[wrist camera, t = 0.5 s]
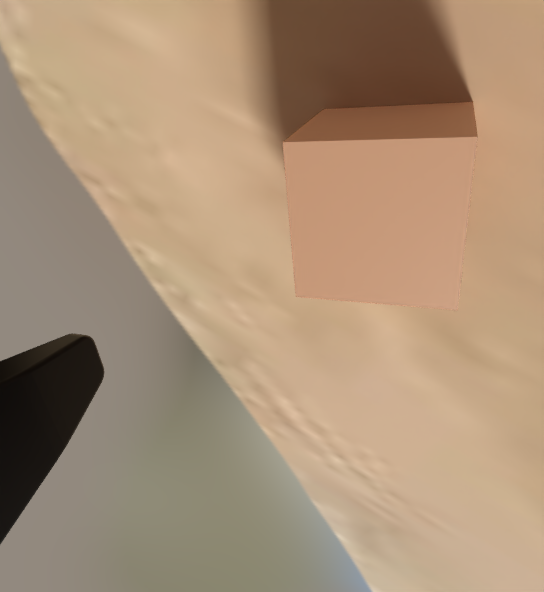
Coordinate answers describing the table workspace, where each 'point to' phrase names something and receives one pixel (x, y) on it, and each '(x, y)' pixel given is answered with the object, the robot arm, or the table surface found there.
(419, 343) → the table surface
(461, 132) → the light brown cube
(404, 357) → the table surface
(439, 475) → the table surface
